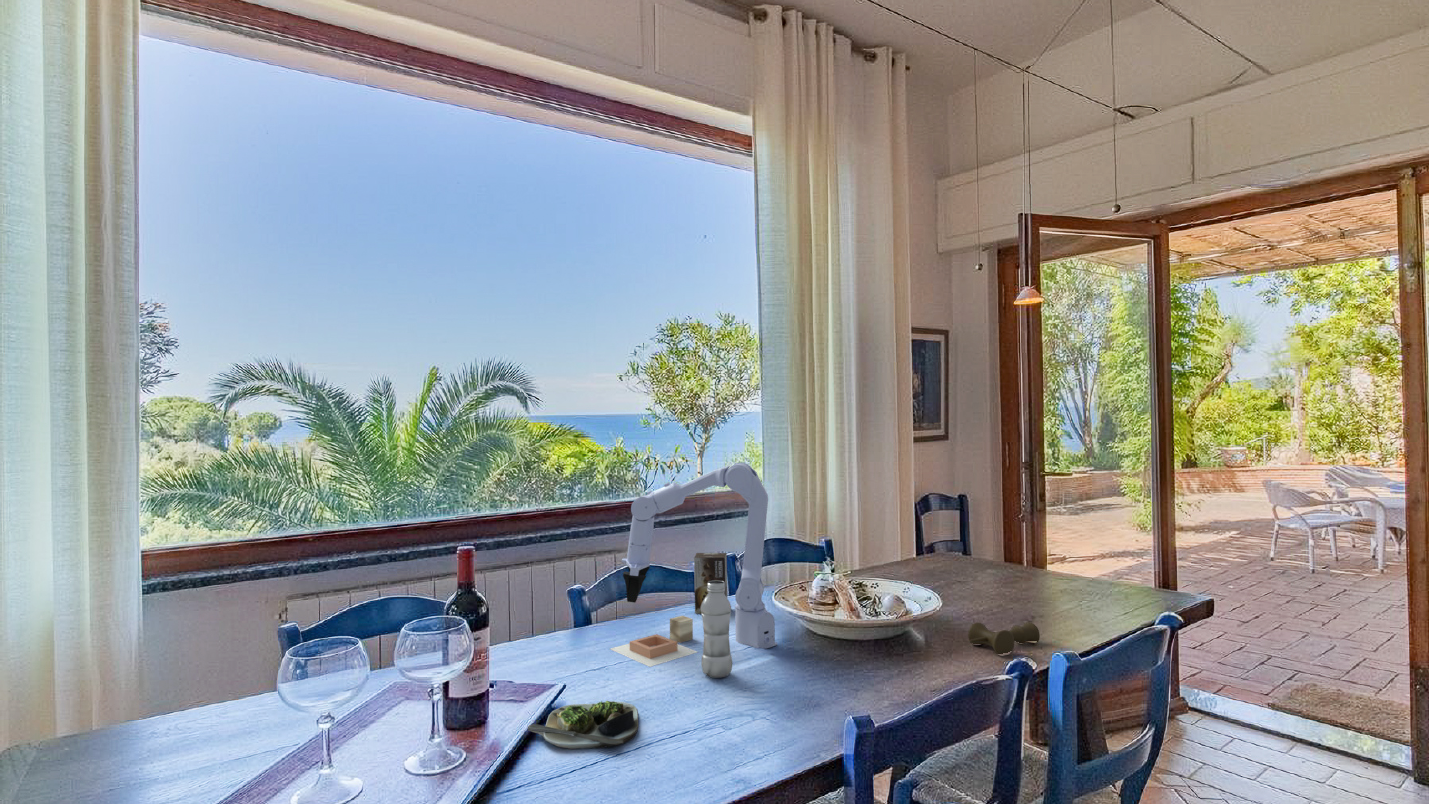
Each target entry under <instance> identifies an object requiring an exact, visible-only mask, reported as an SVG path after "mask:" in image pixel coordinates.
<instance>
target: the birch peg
mask: <svg viewBox="0 0 1429 804" xmlns="http://www.w3.org/2000/svg"><path fill="white" fill-rule="evenodd" d="M693 622H694V620H693V618H691V617H689V616H685V615H679V616H675V617H670V618H669V639H671V640H673V641H676V642H677V643H679V644H680V643H681V644H682V643H684V642H689V641H692V640H694V637H693V636H694V631H693V630H694V628H693V627H694V623H693Z"/></svg>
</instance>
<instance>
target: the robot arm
mask: <svg viewBox="0 0 1429 804" xmlns="http://www.w3.org/2000/svg"><path fill="white" fill-rule="evenodd" d="M713 486H714V487H715V486H716V487H720V488H725V487H726V486H727V487H728V488H729V489H730V490H732V491H734V492H735V493H737V494H739V495H741V497H742V498H743V499H744V500H745V501H746V503H747V504H748V512H747V522H746V523H747V524H746V532H745V543H744V552H743V562H742V571H741V578H740V582H739V583H738V584H739V585H738V588H737V590H736V591H735V602H736V603H735V605H734V606H735V608H734V609H735V611H734V612H735V613H734V614H735V641H736V643H738V644H741V645H745V646H749V647H754V648H755V649H760V648H762V649H769V648H773V647H775V646H778V643H777V642H776V636H775V635H776V634H775V633H776V627H775V626H776V623H775V617H774V615H773V613H771V612H769V611H768V610H767V609H766V607H765V606H766V604H765V603H764V602H763V599H762V596H763V594H764V591H765V587H764V584H763V581H762V569H763V568H762V567H763V559H764V557H763V556H764V545H765V536H766V535H765V534H766V527H767V525H766V524H767V515H768V503H769V496H768V493H767V491H766V488H765V487H764V484H763V483H762V482H761V479H760V477H759V475H758V473H757V471H756V470H755V469H753V467H751V466H750V465H749V464H748V463H746V462H741V461H739V462H736V463H734V464H733V465H727V466H726V465H725V466H722V467H720V468H715V469H713V470H711V471H709V472H706V473H704V474H702V475H700V476H697V477H696V478H694V479H692V480H689V481H687V482H685V483H683V484H679V483H677V482H672V483H671V482H666V483H664V484H663V487H660V488H658V489H656V490H653V491H652V490H649V491H647V492H646V494H644V495H641V496H639V497H637V498H636V499H635V500H633V502H632V503H631V506H630V511H631V515H632V519H631V524H630V531H629V538H628V545H627V554H626V558H622V559H621V563H624V564H626V565H627V568H628V571H623V573H622V576H623V579H624V583H625V589H626V601H627V602H628V603H637V601H638V597H639V594H640V592H641V590H642V587H643V582H645V580H646V578H647V573H648V572H649V570H650V568H651V565H650V564H651V561H650V559H651V552H652V551H651V550H652V542H653V537H654V523H655V515H656V514H662V513H664V512H666V511H667V512H668V511H669V510H671V509H673V508H676V507H678V506H681V505H682V504H684V501H685V499H686V497H688V496H690V495H693V494H696V493H698V492H701V491H703V490H706V489H708V488H712V487H713Z"/></svg>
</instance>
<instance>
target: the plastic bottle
mask: <svg viewBox="0 0 1429 804" xmlns="http://www.w3.org/2000/svg"><path fill="white" fill-rule="evenodd" d="M707 591H708V595H707V596H706V597H705V599H704V600H703V602H702V604H701V620H702V626H703V627H702V628H703V649H702V650H703V651H702V655H701V670H702V672H703V674H705V675H706V677H709V678H715V679H720V678H721V679H722V678H725V677H728V676H730V674H731V672H733V671H732V669H733V663H734V662H733V659H732V658H733V656H732V654H731V645H730V624H731V615H732V605H731V602H730V600H729V598H728V596H727V597H726V596H725V594H724V592H725V582H723V581H709V582H708V586H707Z"/></svg>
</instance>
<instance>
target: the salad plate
mask: <svg viewBox="0 0 1429 804" xmlns="http://www.w3.org/2000/svg"><path fill="white" fill-rule="evenodd" d="M639 715H640V714H639V711H638V708H637V707H636V706H635V705H634V704H631V703H628V702H625V701H614V700H613V701H611V700H610V701H609V700H605V702H604V701H598V702H597V703H575V704H573V703H572V704H567V705H563V706H561V707H559V708H556V709H554V710H552V711H551V712H550V714H548V717H547V720H546V722H545V723H546V724H545V725H541V724H537V723H532V724H529V725H528V726H527V730H528V731H529V732H532V733H535V734H539V735H540V736H541V737H543V739H544V740H545V741H546V742H547V743H550V744H551V745H554V746H556V747H559V748H564V749H570V750H573V749H574V750H575V749H601V748H603V749H604V748H613V747H614V748H615V747H619V746H621V745H624V744H626V743H628V742H630V741H632V740H633V739H634V738H635V736H636V735H637V732H638V729H639Z"/></svg>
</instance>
